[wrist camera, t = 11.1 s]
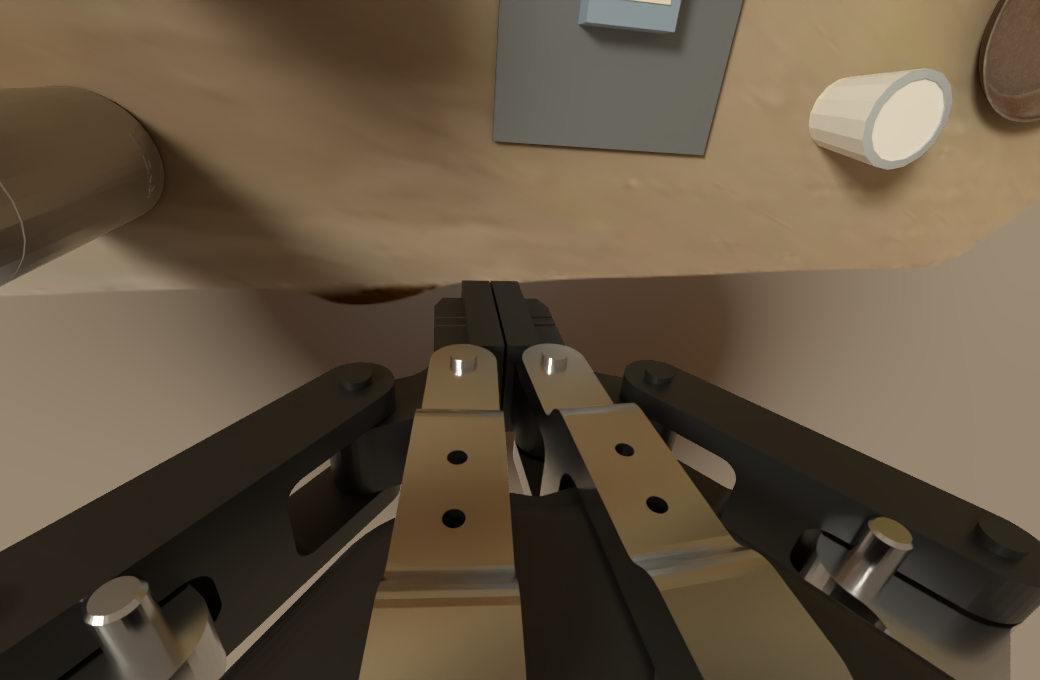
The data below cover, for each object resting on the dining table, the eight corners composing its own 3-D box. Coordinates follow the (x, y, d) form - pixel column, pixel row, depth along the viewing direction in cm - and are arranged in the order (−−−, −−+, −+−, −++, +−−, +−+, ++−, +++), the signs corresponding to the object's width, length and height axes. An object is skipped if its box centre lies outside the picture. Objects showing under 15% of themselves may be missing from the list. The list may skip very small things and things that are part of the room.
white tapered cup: (840, 168, 44) (904, 184, 38) (786, 136, 41) (845, 148, 35) (894, 90, 41) (973, 94, 35) (839, 52, 39) (913, 49, 33)
